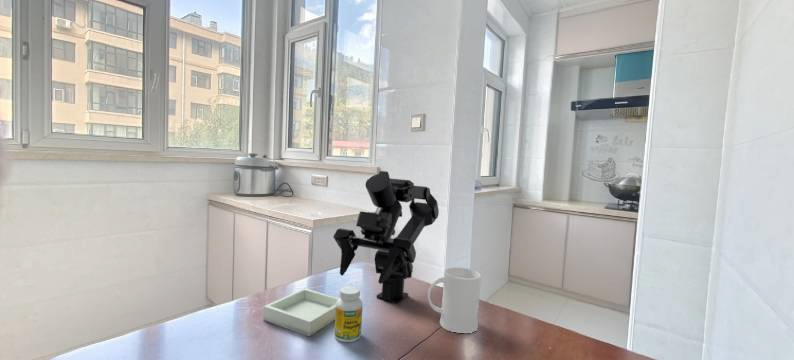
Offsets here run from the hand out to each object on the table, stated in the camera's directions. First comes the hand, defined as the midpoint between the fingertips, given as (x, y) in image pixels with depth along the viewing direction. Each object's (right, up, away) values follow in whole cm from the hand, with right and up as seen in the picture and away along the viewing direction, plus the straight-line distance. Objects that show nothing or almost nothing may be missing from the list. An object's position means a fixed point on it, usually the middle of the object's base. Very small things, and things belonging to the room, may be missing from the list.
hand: (359, 278), depth 71 cm
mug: (+20, -12, +5) cm, 24 cm away
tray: (-12, -10, +4) cm, 16 cm away
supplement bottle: (-2, -11, -3) cm, 12 cm away
